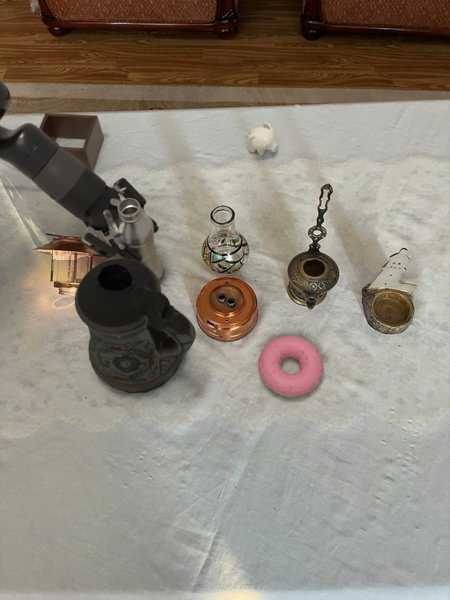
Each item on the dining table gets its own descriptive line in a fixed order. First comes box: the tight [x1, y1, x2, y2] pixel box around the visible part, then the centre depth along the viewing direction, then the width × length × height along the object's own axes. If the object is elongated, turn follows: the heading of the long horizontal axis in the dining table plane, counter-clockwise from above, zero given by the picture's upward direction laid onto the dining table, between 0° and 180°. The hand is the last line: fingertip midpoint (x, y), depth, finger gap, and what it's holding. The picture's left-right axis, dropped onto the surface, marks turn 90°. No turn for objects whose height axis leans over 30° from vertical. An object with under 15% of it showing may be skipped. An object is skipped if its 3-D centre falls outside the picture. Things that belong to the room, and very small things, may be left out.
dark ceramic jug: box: [74, 258, 197, 394], centre depth 82 cm, size 16×19×25 cm
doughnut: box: [257, 335, 324, 398], centre depth 88 cm, size 11×11×4 cm
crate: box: [38, 112, 105, 172], centre depth 114 cm, size 12×11×8 cm
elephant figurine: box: [244, 122, 279, 156], centre depth 114 cm, size 7×8×6 cm
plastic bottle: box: [117, 198, 164, 281], centre depth 92 cm, size 6×7×20 cm
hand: (147, 245), depth 92 cm, fingers closed on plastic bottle, 6 cm apart
